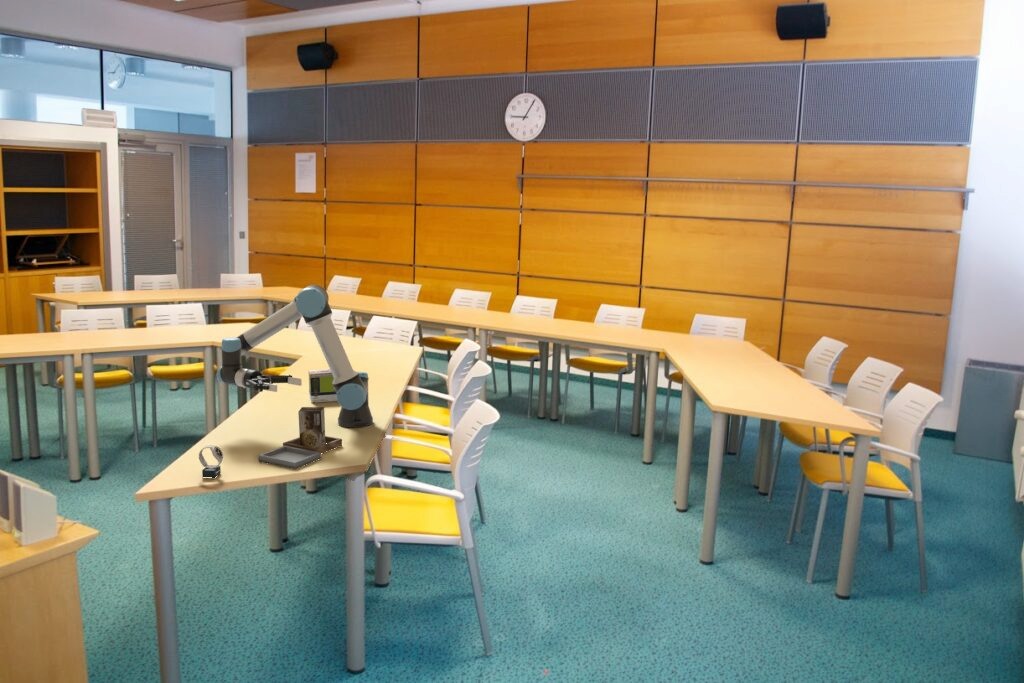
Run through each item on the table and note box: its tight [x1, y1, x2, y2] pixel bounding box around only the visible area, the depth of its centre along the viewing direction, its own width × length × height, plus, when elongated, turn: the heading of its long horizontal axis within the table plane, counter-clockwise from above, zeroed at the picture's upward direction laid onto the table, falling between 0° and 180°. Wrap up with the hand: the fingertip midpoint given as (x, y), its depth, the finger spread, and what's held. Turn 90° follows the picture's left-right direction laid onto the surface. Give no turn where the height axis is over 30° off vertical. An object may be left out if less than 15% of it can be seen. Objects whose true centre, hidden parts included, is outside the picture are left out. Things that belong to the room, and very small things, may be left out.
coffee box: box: [298, 406, 326, 448], centre depth 311 cm, size 9×6×16 cm
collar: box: [282, 435, 343, 454], centre depth 312 cm, size 16×16×3 cm
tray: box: [257, 445, 322, 470], centre depth 297 cm, size 14×18×2 cm
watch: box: [198, 444, 224, 478], centre depth 277 cm, size 6×8×11 cm
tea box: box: [308, 368, 338, 403], centre depth 390 cm, size 15×10×15 cm, turn 108°
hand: (289, 385), depth 313 cm, fingers open, 13 cm apart
